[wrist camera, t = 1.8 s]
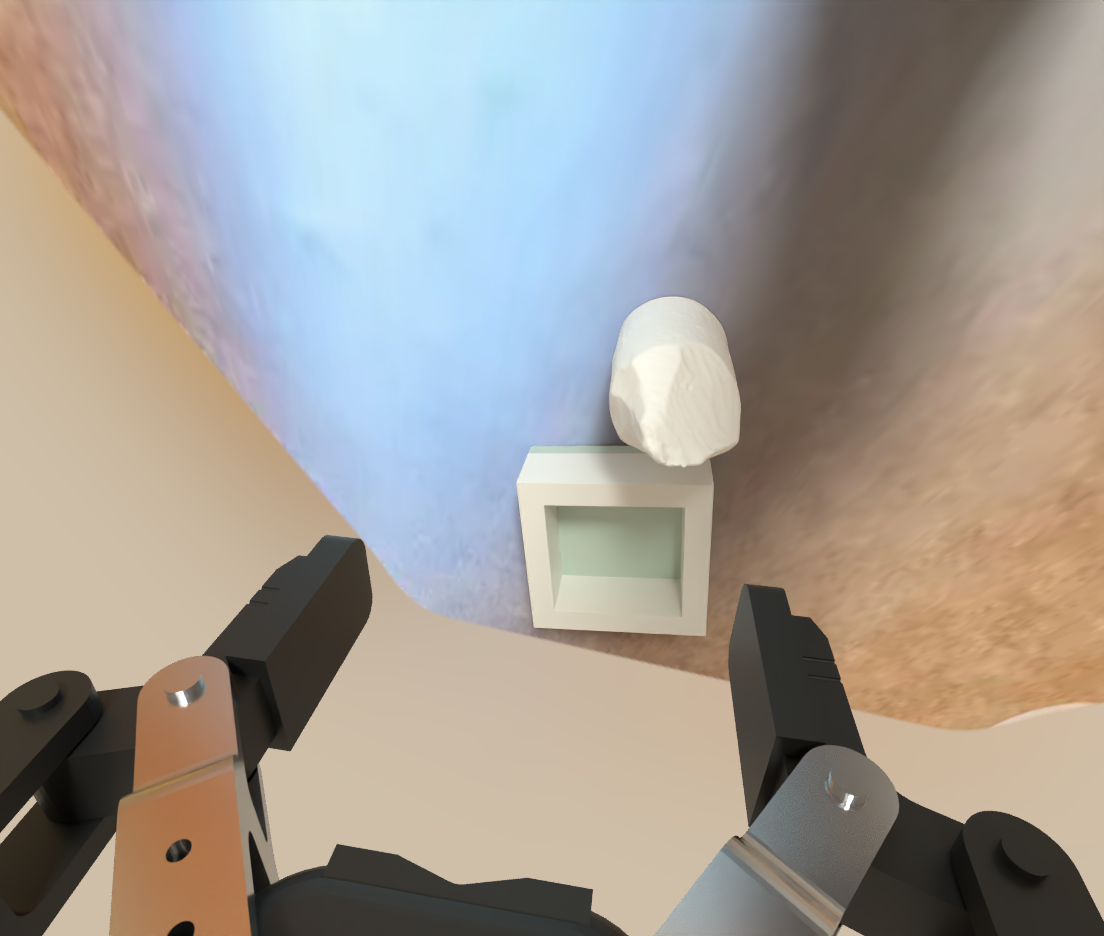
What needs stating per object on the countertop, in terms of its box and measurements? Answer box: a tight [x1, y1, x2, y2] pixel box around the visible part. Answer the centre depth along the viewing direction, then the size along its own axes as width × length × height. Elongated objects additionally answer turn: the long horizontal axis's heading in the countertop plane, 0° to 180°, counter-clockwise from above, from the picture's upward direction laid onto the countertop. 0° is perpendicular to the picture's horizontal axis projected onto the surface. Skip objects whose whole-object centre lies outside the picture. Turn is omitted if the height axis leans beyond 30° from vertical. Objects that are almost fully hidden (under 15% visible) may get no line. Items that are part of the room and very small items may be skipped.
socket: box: [516, 446, 714, 636], centre depth 37 cm, size 10×10×4 cm
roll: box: [609, 297, 741, 468], centre depth 28 cm, size 6×12×6 cm
